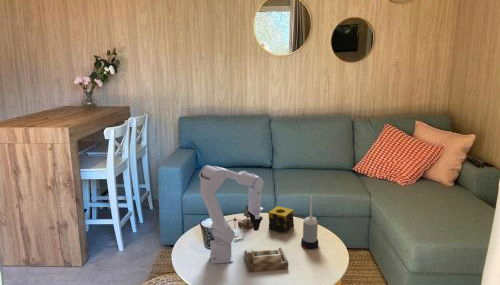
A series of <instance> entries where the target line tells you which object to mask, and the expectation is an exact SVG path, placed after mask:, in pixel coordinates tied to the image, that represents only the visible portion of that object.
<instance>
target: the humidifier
mask: <svg viewBox="0 0 500 285" xmlns="http://www.w3.org/2000/svg"><path fill="white" fill-rule="evenodd" d="M309 203H310V206H309V207H310V208H309V216H307V217H306V218H304V220H303V223H302V237H301V242H300V243H301V244H300V246H301V247H302V248H303V249H305V250H316V249H317V248H319V239H318V226H319V224H318V220H317V219H316V218H315V217H314V216H313V196H312V195H311V196H310V201H309Z"/></svg>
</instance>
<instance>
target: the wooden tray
mask: <svg viewBox="0 0 500 285" xmlns="http://www.w3.org/2000/svg"><path fill="white" fill-rule="evenodd" d="M278 249H279V251H280V253H281V262H275V263H264V264H253V262H252V252H248V251H247V249H246V250H244V252H243V256H244V260H245V264H246V267H247V271H248V273H250V274H251V273H258V272H259V273H260V272H270V271H281V270H289V261H288V258H287V257H286V255H285V253H284V251H283V249H282V247H278Z"/></svg>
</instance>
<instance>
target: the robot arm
mask: <svg viewBox="0 0 500 285" xmlns="http://www.w3.org/2000/svg"><path fill="white" fill-rule="evenodd" d="M198 177H199V179H200V184H199V185H200V189H199V191H200V192H199V193H200V194H201V197H202V201H203V202H204V206H206V209H207V212H208V215H209V217H210V220H211V222H212V223H211V225H210V227H211V235H212V236H214V237H213V238H214V239H213V240H210V243H209V244H210V254H209V255H210V260H211V264H213V265H215V264H225V263H233V262H234V258H233V253H232V242H233V240H234V239H235V231H234V229H232V228H231V226H230V224H229V223H228V222H227V221H226V220H225V217H224V213H223V211H222V209H221V205H220V203H219V201H218V198H217V195H216V193H215V192H217V191H218V189H219V188H220V187H221V185H222V184H223V183H224V181H226V180H227V178H228V179H231V180H235V181H236V182H237V184H239V185H243V186H246V187H248V203H249V205H248V206H249V208H248V209H247V211H248V213H249V216H250V217H249V219H250V221H251V224H253V228H252V229H253V231H256V232H257V231H259V229H260V225H261V223H262V221H263V219H264V218H263V216H260V214H261V212H262V211H264V208H263V207H262V206H261V205H262V196H261V195H262V189H263V186H264V183H265V182H264V179H263V178H262V177H261V176H259V175H257V174H255V173H252V172H251V173H250V172H248V170H241V171H239V172H236V171H233V170H230V169H227V168H225V167H221V166H215V165H210V164H206V165H204V166H202V168H201V170H200V172H199V174H198Z"/></svg>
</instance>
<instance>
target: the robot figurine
mask: <svg viewBox="0 0 500 285" xmlns="http://www.w3.org/2000/svg"><path fill="white" fill-rule="evenodd" d="M248 208H249V202H248V205H246V206H245V209H244V210H243V217H246V218H245V219H242V220H239V221H238V223H237V224H238V227H239V226H240V227H243V228H242V229H245V230H252V229H253V224H251V221H250V216H249V213H248V211H247V209H248ZM240 221H242V222H243V223H242V222H240ZM240 227H239V228H240Z"/></svg>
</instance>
